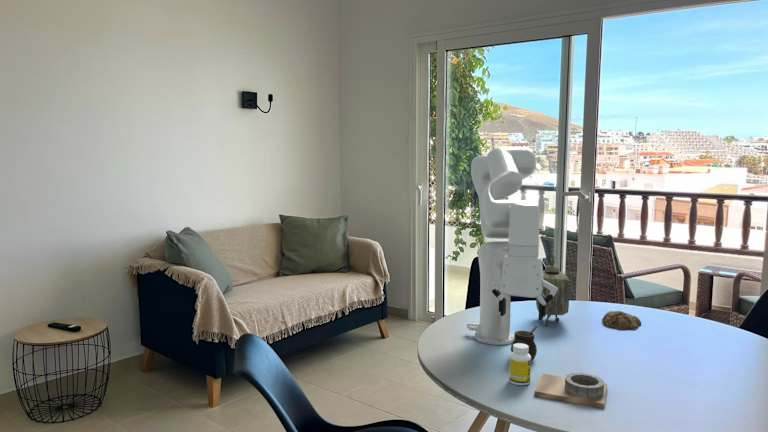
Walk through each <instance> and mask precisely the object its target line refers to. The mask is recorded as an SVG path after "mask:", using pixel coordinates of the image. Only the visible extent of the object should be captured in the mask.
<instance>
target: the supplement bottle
mask: <svg viewBox="0 0 768 432" xmlns="http://www.w3.org/2000/svg"><path fill="white" fill-rule="evenodd" d="M513 351H514V352H512V353H511V352H510V354H509V372H508V380H509V382H510V383H511V384H513V385H516V386H527V385H529V384H530V382H531V372H532V371H531V370H532V369H531V367H532V366H531V365H532V361H531V356H530V354H529V353H528V352H529V346H528V345H526V344H522V343H516V344H514V345H513Z"/></svg>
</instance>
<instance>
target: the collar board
mask: <svg viewBox="0 0 768 432" xmlns="http://www.w3.org/2000/svg"><path fill="white" fill-rule="evenodd" d="M607 391H608V383H605V380H603V379H602V378H601V377H599V376H596V375H594V374H591V373H586V372H585V373H584V372H571V373H569V374H567V375H565V376H560V375H555V374H548V373H542V374H541V376H540V378H539V380H538V382H537V385H536V387H535V389H534V397H540V398H543V399H544V398H546V399H550V400H556V401H561V402H565V403H566V402H567V403H572V404H578V405H582V406H588V407H594V408H598V409H605V405H606V398H607V393H608V392H607Z"/></svg>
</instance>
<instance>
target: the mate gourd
mask: <svg viewBox="0 0 768 432" xmlns="http://www.w3.org/2000/svg"><path fill="white" fill-rule="evenodd" d="M537 328H538V325H535V326H534V328H533V329H532V330H531V331H528V330H516V331H515V332H514V333H513V335H514V337H515V339H514V341H513V342H512V343H511V345H510V351H511V352H510V354H511V353H512V352H514V351H513V345H514V344H516V343H522V344H526V345H528V346H529V352H528V353H529V354H530V356H531V362H532V361H534V360H535V358H536V355H537V352H538V350H537V344H536V342H535V340H534V339H535V334H534V332H535V331H536V329H537Z"/></svg>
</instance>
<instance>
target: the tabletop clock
mask: <svg viewBox="0 0 768 432" xmlns="http://www.w3.org/2000/svg"><path fill="white" fill-rule="evenodd" d="M549 255H550V264H548V265H547V266H546V267H545V268H544V269H543V279H544V280H545V281H547V282H549V283H550V284H552V285H554V286H555V287H557V288H558V290H557V292H556V294H555V295H554V297H553V299H552V300H550V301H549V302H548V303H547V304H546V320H544V321H543V326H545V327H547V326H549V322H548V321H549V320H550V318H551V316H555V318H554V321H555V322H556V323H559V322H560V318H559V317H558V316H564V315H566V314H568V313H569V309H570V279H569V277H568V276H567V275H566V274H565V273H564V272H561V271H560V268H559V266H558V265H556V264H555V261H556V255H555V253H554V251H551V252H550V254H549ZM552 257H553V258H552ZM549 294H550V290H549V289H547V288H546V287H544V288H543V295H544V296H545V297H547V296H548V295H549ZM535 299H536V301H535V303H536V308H537V309H536V310H537V311H538V313H539V305H540V302H539V300H538V299H537V298H535Z"/></svg>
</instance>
